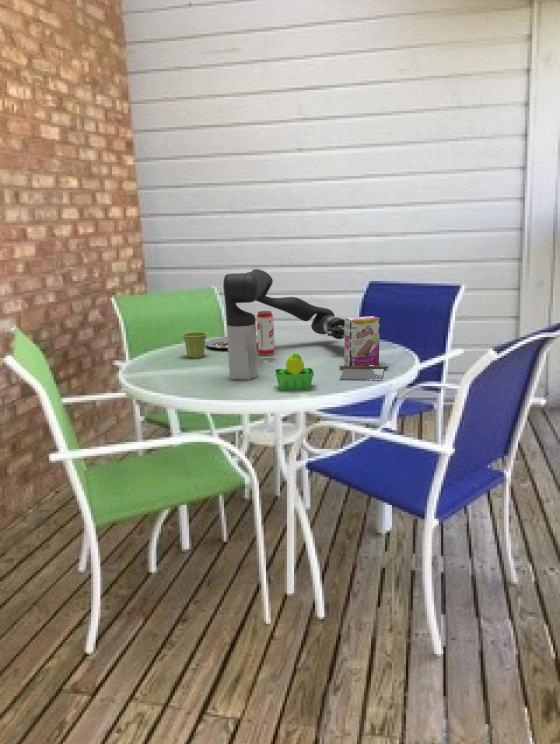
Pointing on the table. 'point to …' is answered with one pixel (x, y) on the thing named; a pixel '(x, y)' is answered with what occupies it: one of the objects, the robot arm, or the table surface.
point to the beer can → (265, 333)
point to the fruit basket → (294, 374)
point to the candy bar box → (361, 341)
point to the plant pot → (195, 343)
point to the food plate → (221, 342)
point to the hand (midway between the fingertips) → (352, 334)
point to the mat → (359, 374)
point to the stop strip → (363, 367)
